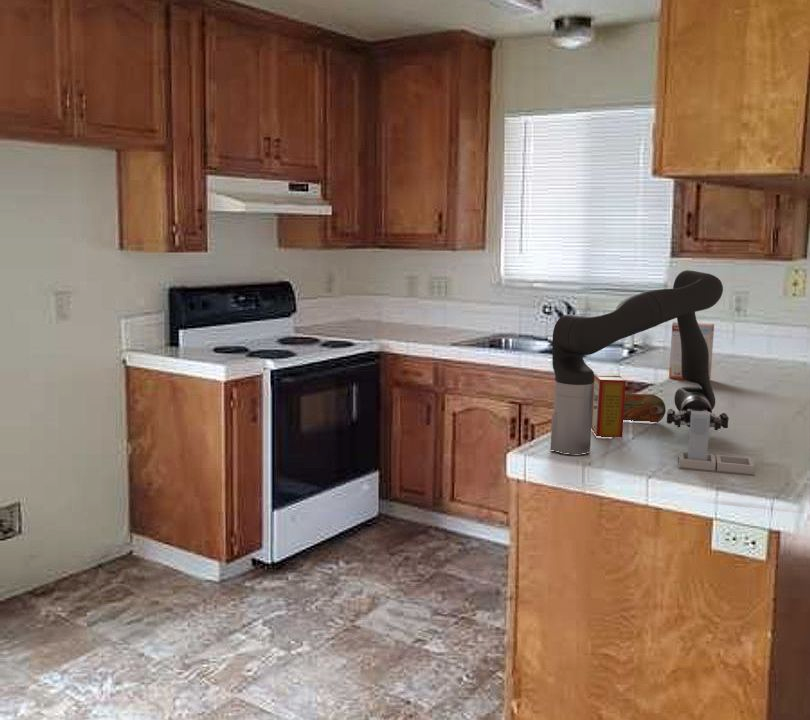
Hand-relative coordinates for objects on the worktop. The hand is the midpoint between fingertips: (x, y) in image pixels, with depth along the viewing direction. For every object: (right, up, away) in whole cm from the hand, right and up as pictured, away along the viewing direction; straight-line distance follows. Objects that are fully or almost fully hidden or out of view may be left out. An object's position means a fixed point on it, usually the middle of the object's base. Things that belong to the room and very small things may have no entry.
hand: (697, 424), depth 208 cm
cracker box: (+35, +8, +114) cm, 120 cm away
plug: (-3, -8, -10) cm, 13 cm away
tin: (-4, -3, +39) cm, 39 cm away
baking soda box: (-17, -5, +23) cm, 28 cm away
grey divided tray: (0, -10, -10) cm, 14 cm away
